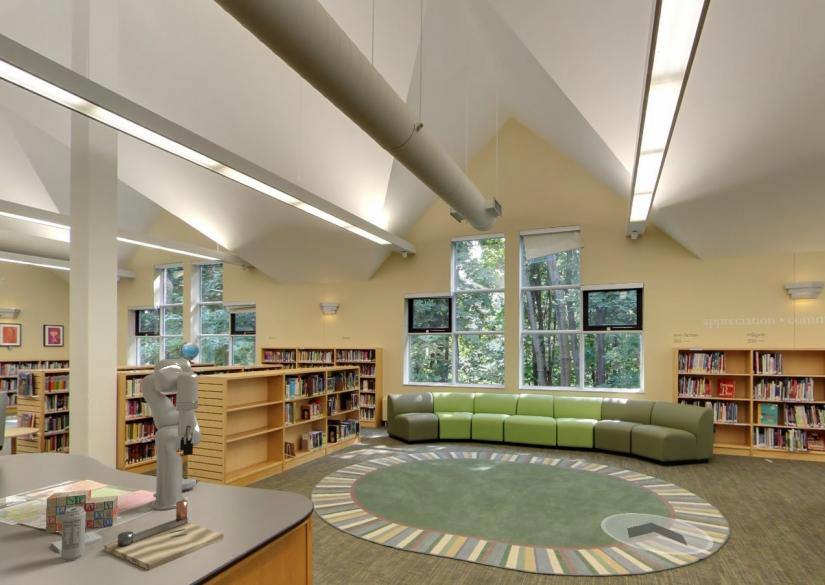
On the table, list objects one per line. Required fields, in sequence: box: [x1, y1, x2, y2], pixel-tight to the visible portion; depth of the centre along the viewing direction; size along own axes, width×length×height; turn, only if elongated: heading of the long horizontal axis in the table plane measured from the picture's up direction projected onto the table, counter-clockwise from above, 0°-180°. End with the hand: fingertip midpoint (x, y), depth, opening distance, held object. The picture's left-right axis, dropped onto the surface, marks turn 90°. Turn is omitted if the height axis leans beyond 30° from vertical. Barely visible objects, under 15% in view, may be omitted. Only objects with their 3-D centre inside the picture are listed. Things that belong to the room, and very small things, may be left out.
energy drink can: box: [61, 506, 86, 562], centre depth 160 cm, size 6×6×15 cm
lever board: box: [103, 522, 225, 571], centre depth 169 cm, size 26×26×2 cm
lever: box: [117, 499, 189, 546], centre depth 174 cm, size 24×4×8 cm, turn 148°
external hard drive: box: [50, 531, 103, 554], centre depth 171 cm, size 2×8×12 cm
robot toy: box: [182, 477, 201, 491], centre depth 228 cm, size 12×4×15 cm
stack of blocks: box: [45, 489, 119, 534], centre depth 186 cm, size 21×6×12 cm, turn 105°
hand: (186, 452), depth 191 cm, fingers open, 9 cm apart
